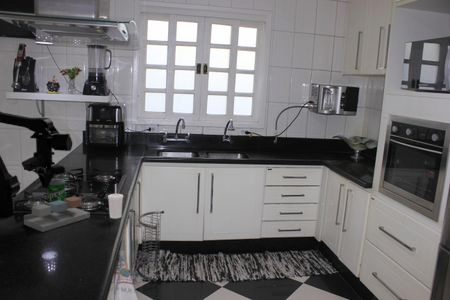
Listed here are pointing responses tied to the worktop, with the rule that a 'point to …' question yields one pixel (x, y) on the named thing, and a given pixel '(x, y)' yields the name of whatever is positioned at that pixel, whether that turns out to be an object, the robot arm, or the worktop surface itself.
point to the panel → (55, 219)
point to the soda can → (56, 190)
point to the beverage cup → (115, 204)
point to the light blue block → (58, 206)
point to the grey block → (41, 210)
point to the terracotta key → (73, 202)
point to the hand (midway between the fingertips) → (45, 187)
